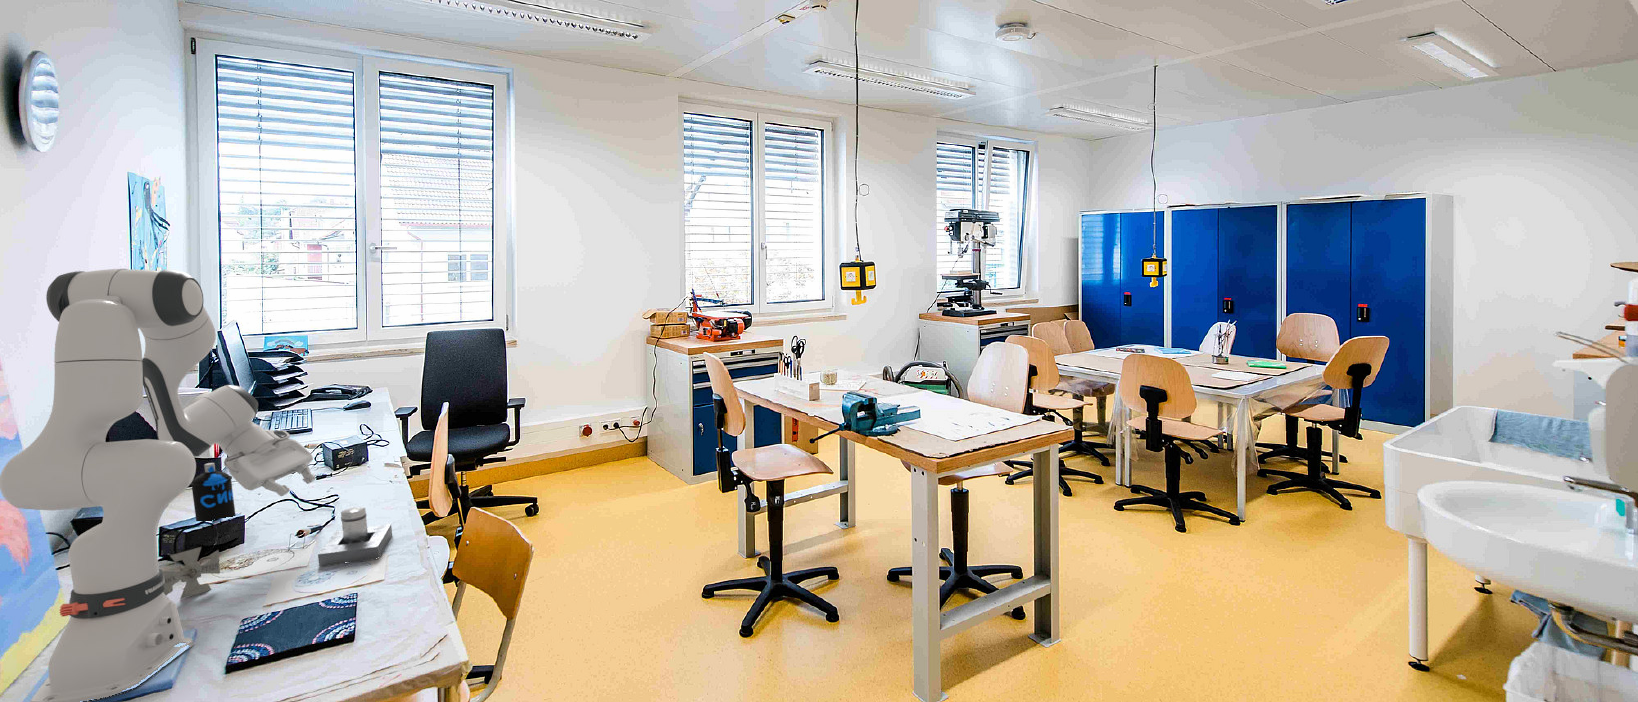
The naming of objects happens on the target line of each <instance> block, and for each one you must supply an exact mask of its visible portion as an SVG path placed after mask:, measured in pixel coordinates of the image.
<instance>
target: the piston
mask: <svg viewBox="0 0 1638 702" xmlns="http://www.w3.org/2000/svg"><path fill="white" fill-rule="evenodd" d="M367 515H368V514H367V512H366V507H363V506H361V507H359V506H358V507H351V508H347V509H344V510H342V511H341V512H340V520H341V527H342V530H343V537H344V544H351V543H359V542H367V541H369V540H368V530H367V527H368V522H367Z"/></svg>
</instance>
